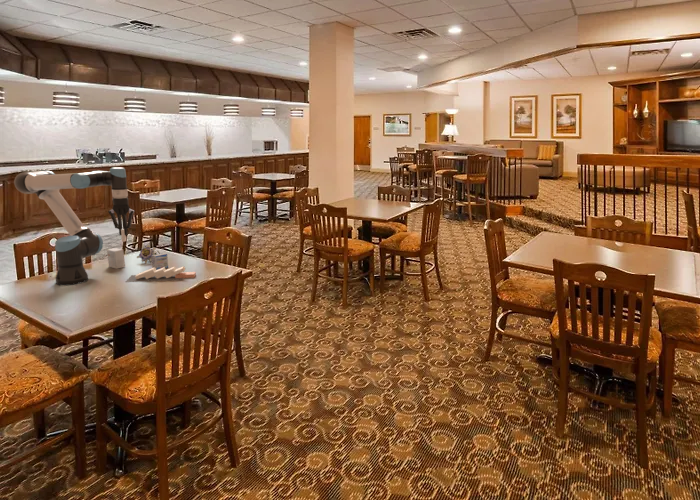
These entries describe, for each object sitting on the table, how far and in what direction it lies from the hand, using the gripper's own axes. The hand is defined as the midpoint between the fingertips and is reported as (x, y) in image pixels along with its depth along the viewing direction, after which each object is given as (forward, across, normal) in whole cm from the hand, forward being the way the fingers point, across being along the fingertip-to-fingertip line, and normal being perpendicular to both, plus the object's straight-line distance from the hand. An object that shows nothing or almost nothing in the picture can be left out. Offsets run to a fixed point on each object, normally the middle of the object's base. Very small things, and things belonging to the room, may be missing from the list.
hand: (124, 241), depth 271 cm
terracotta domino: (+19, +26, -4) cm, 33 cm away
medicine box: (+21, +14, +16) cm, 29 cm away
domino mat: (+20, +16, -4) cm, 26 cm away
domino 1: (+19, +6, -4) cm, 20 cm away
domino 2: (+19, +11, -4) cm, 22 cm away
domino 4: (+19, +22, -4) cm, 29 cm away
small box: (+21, -12, +23) cm, 33 cm away
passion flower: (+21, +3, +35) cm, 40 cm away
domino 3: (+19, +17, -4) cm, 25 cm away
